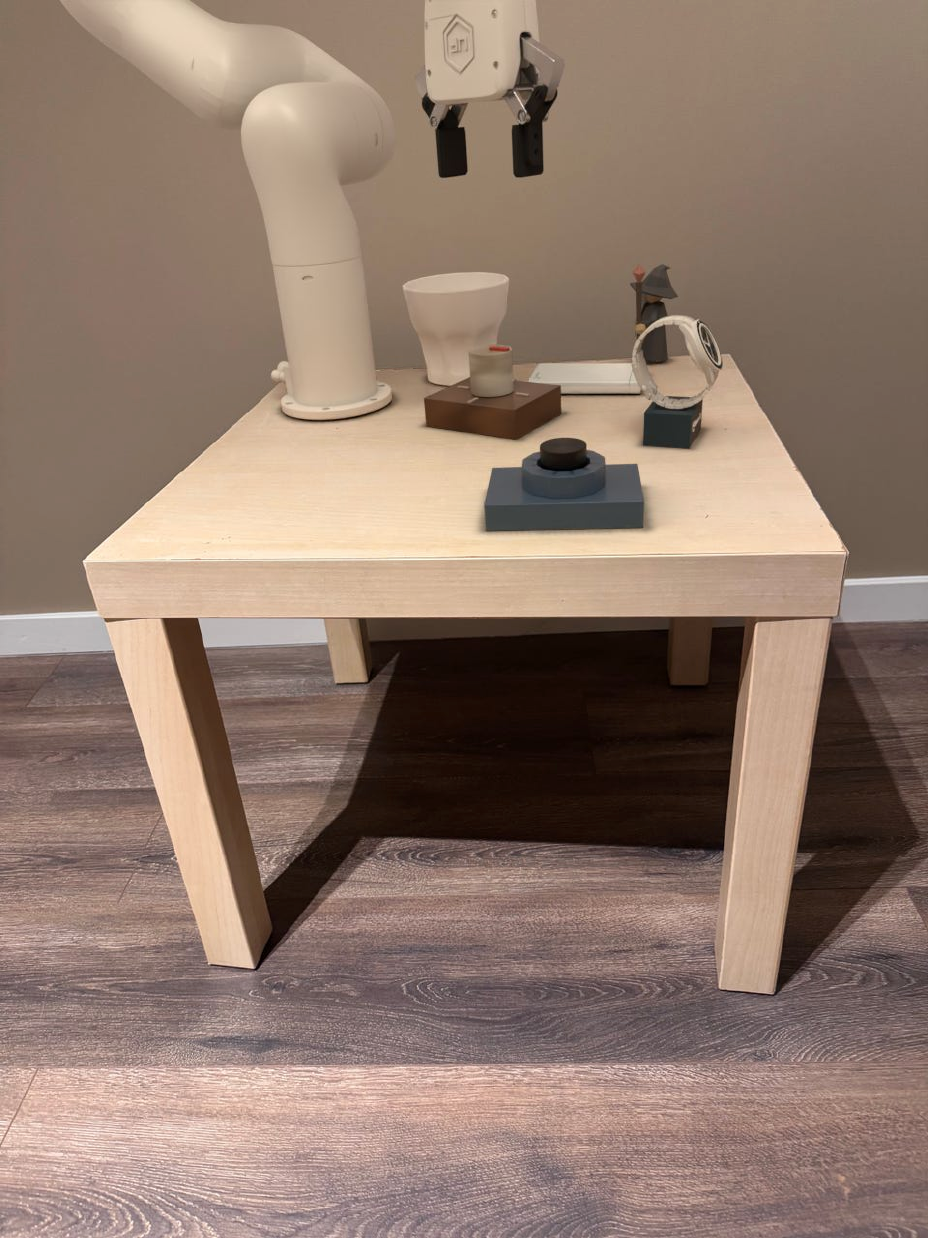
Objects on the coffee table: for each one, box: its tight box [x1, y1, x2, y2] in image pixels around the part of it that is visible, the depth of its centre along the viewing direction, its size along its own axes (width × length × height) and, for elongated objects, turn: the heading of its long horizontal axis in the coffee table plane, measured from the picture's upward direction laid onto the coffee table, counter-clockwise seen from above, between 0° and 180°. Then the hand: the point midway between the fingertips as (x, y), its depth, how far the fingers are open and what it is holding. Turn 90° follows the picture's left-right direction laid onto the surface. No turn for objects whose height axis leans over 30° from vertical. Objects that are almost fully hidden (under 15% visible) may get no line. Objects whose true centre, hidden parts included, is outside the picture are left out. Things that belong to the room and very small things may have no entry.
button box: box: [483, 449, 645, 532], centre depth 72 cm, size 12×8×4 cm, turn 84°
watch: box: [630, 314, 724, 450], centre depth 83 cm, size 6×8×11 cm
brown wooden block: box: [423, 377, 562, 440], centre depth 93 cm, size 11×9×3 cm
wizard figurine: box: [630, 263, 679, 365], centre depth 106 cm, size 8×6×12 cm
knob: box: [468, 343, 514, 397], centre depth 91 cm, size 4×4×4 cm
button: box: [539, 437, 588, 472], centre depth 70 cm, size 4×4×2 cm
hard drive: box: [527, 362, 642, 395], centre depth 103 cm, size 2×8×12 cm
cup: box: [401, 271, 510, 387], centre depth 107 cm, size 12×12×11 cm
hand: (489, 175), depth 82 cm, fingers open, 9 cm apart
